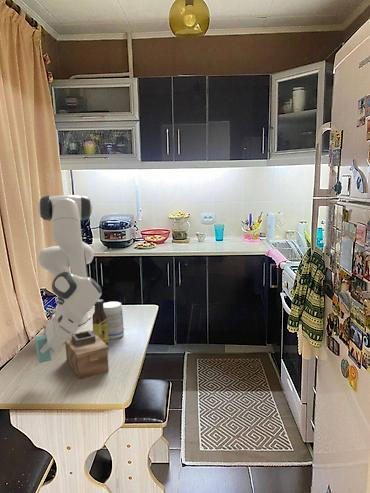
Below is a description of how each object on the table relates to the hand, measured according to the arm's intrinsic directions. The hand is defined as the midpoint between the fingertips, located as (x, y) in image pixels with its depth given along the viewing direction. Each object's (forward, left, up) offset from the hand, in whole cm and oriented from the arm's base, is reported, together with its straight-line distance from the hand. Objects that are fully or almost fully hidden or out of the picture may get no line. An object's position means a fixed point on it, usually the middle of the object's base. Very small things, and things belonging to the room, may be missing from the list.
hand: (41, 348), depth 147 cm
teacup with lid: (-31, +11, -13) cm, 35 cm away
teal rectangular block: (0, +1, -4) cm, 4 cm away
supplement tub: (-25, +36, -13) cm, 45 cm away
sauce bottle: (-18, +28, -13) cm, 35 cm away
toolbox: (-3, +17, -12) cm, 21 cm away
